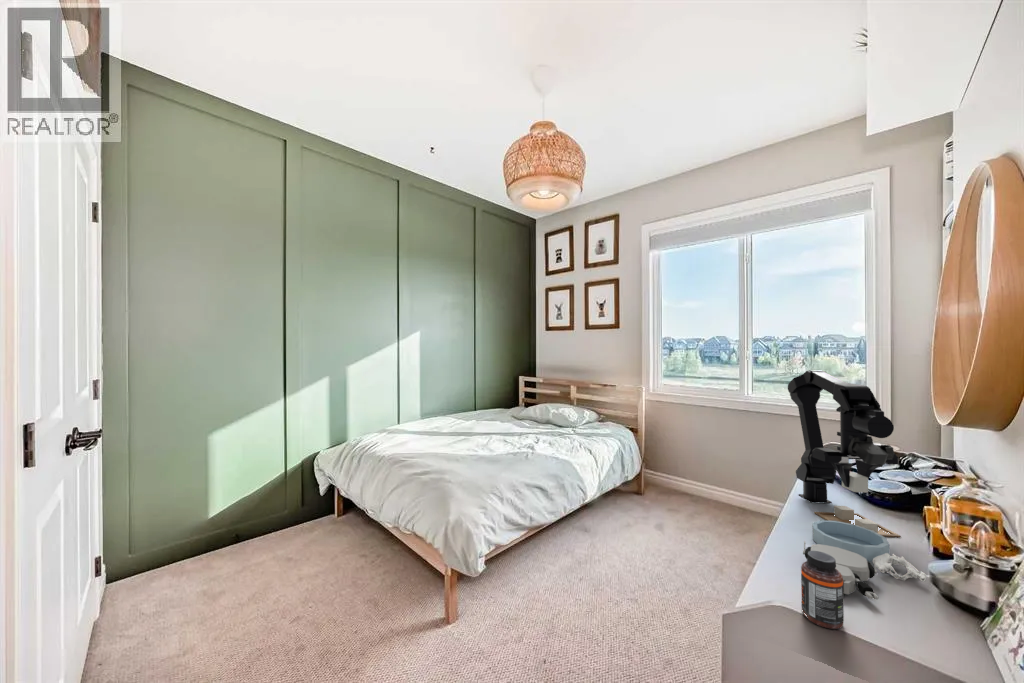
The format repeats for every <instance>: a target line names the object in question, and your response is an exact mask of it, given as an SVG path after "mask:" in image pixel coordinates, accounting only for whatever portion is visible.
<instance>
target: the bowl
mask: <svg viewBox="0 0 1024 683" xmlns="http://www.w3.org/2000/svg"><path fill="white" fill-rule="evenodd" d="M811 524H812V525H811V526H812V531H811V533H812V540H813V541H814V542H815V544H821V545H828V546H833V547H838V548H841V549H845V550H848V551H851V552H854V553H856V554H859V555H861V556H863V557H864V558H866V559H867V561H868V562H873V558H875V557H877V556H879V555H882V554H885V553H888V554H889V555H890V556H891V554H890V553H891V552H890V550H891V549H890V548H891V547H890V543H889V540H888V539H887V537H883V536H882V535H880V534H878V533H876V532H874V531H872V530H869V529H866V528H863V527H860V526H857V525H854V524H849V523H844V522H839V521H827V520H825V519H823V520H822V519H821V520H817V521H814V522H812V523H811ZM880 560H881V559H880Z"/></svg>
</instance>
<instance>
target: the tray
mask: <svg viewBox="0 0 1024 683" xmlns="http://www.w3.org/2000/svg"><path fill="white" fill-rule="evenodd" d="M813 514H815V515H816V516H818V517H820V518H822V519H823V520H827V521H839V522H844V523H849V524H851V521H849V520H842V519H840V518H838V517H837V516H834V511H833V512H830V511H828V512H826V511H813ZM854 515H857V516H859V517H861V518H862V519H868V518H867V517H865V516H864V515H861V514H860V513H857V512H856V513H855V512H854ZM875 523H876V524H878V527H879V528H881V529H880V530H879V531H878V534H880V535H882V536H883V537H885V538H895V537H897V538H898V537H901V538H902V536H901V535H900V534H898V533H896V532H894V531H892V530H890V529H888V528H887V527H884V526H883V525H880V524H879V523H877V522H875ZM853 524H854V523H853ZM883 531H884V532H883ZM885 532H886V533H885ZM888 532H889V533H890V534H889V533H888ZM887 533H888V534H887ZM897 538H896V539H897Z"/></svg>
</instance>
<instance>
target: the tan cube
mask: <svg viewBox="0 0 1024 683" xmlns="http://www.w3.org/2000/svg"><path fill="white" fill-rule="evenodd" d="M833 513H834V515H835V516H837V517H838V518H840V519H842V520H854V513H855V510H854V509H852V508H850V507H848V506H846V505H833Z"/></svg>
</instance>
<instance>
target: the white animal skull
mask: <svg viewBox="0 0 1024 683" xmlns="http://www.w3.org/2000/svg"><path fill="white" fill-rule="evenodd" d="M873 559H875V565H876V569H878V570H879V572H881V573H883V574H884V573H885V572H886V573H887V574H889V575H891V576H892V577H893V578H895V579H897V580H901V581H906V580H907V579H909V578H910V579H912V578H914V579H919V580H920V581H921V582H922V583H923V582H925V581H926V579H927V574H926V573H925V572H923V571H919V570H918V569H917V568H916V567H915V566H914V565H913V564H912V563H911V562H909V561H908V560H906V558H905V557H904V556H897V555H896V554H894V553H892V555H891V554H890V555H889V554H888V553H885V554H882V555H879V556H877V557H875V558H873ZM880 559H881V560H880ZM872 565H874V561H872ZM892 565H893V566H903V567H905V568H906V571H907V572H906V573H905V574H903V575H899V574H898V573H897V571H896V570H895V569H894V567H893V566H892Z"/></svg>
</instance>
